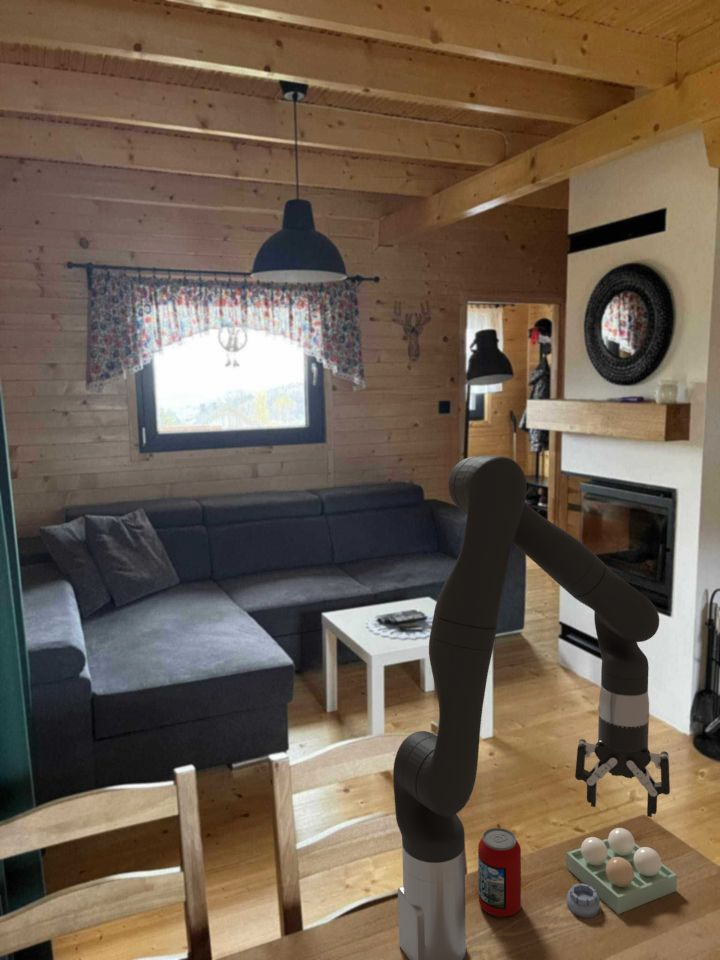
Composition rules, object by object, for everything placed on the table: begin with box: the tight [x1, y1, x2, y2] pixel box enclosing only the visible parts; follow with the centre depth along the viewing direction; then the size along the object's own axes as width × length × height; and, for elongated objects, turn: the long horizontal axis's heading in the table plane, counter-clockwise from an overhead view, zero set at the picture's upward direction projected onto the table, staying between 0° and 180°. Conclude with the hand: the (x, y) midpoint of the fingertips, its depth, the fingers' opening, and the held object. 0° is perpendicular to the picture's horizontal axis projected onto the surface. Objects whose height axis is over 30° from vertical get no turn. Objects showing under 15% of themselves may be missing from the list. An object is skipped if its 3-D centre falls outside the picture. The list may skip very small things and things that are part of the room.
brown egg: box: [606, 857, 634, 887], centre depth 121 cm, size 4×4×4 cm
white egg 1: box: [580, 836, 608, 866], centre depth 126 cm, size 4×4×4 cm
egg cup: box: [566, 882, 601, 919], centre depth 119 cm, size 5×5×3 cm
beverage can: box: [477, 827, 522, 918], centre depth 119 cm, size 7×7×12 cm
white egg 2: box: [607, 827, 636, 856], centre depth 129 cm, size 4×4×4 cm
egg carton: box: [565, 838, 678, 915], centre depth 125 cm, size 12×12×3 cm
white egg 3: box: [633, 846, 663, 877], centre depth 123 cm, size 4×4×4 cm
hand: (620, 809), depth 119 cm, fingers open, 8 cm apart
